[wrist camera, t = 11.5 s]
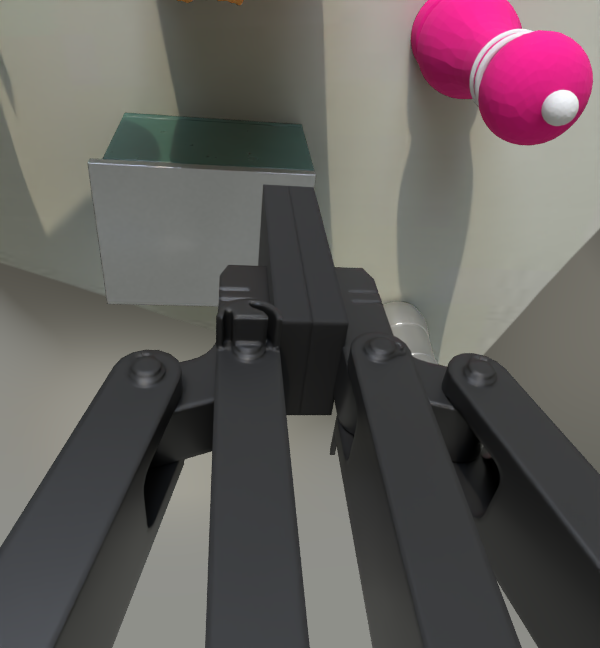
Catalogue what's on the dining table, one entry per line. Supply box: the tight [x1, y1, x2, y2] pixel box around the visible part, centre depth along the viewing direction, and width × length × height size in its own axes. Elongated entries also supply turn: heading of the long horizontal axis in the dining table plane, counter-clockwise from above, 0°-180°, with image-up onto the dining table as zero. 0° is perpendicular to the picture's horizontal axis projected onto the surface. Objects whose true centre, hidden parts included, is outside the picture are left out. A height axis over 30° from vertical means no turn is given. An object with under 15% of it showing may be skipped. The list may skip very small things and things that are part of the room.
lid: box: [88, 159, 316, 306], centre depth 42 cm, size 15×12×1 cm
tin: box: [103, 113, 314, 171], centre depth 46 cm, size 15×12×10 cm
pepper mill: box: [411, 0, 593, 145], centre depth 36 cm, size 7×7×20 cm
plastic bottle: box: [383, 302, 438, 364], centre depth 54 cm, size 6×7×20 cm
